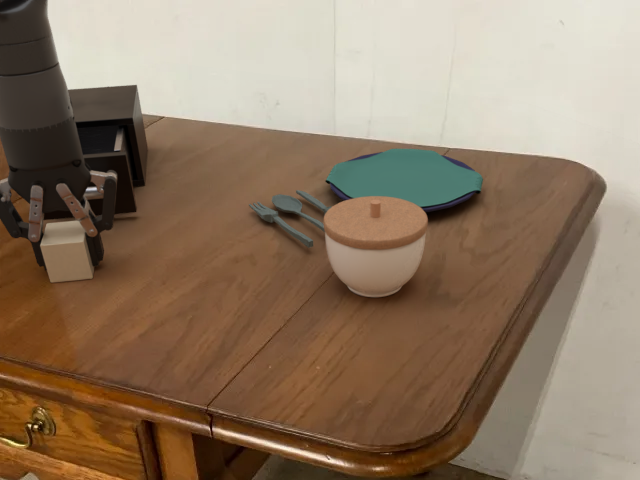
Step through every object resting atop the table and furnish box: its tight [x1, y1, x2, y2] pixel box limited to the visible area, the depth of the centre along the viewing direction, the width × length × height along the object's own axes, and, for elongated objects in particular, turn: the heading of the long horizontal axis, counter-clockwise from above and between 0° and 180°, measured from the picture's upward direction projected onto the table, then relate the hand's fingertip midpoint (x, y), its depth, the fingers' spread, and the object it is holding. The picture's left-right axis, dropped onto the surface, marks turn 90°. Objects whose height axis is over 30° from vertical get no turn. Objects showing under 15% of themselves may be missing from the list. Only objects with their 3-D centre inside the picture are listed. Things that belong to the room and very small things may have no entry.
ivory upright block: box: [40, 220, 96, 284], centre depth 87 cm, size 5×6×5 cm
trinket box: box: [323, 196, 429, 298], centre depth 81 cm, size 11×11×9 cm
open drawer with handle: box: [43, 125, 138, 221], centre depth 98 cm, size 18×12×7 cm, turn 9°
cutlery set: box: [248, 148, 484, 249], centre depth 100 cm, size 20×30×2 cm, turn 122°
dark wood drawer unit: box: [68, 84, 149, 188], centre depth 108 cm, size 15×13×9 cm
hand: (73, 264), depth 88 cm, fingers closed on ivory upright block, 4 cm apart
